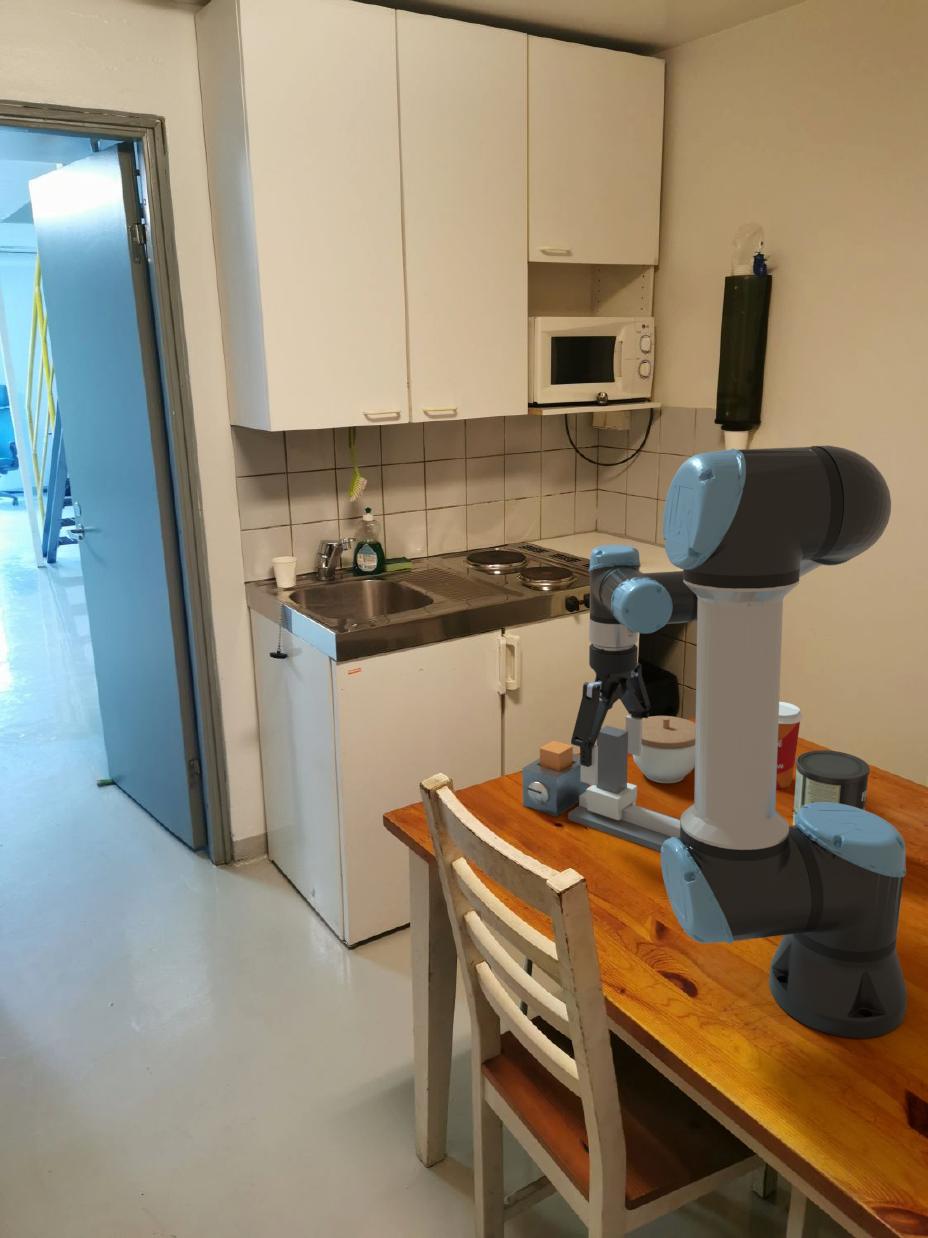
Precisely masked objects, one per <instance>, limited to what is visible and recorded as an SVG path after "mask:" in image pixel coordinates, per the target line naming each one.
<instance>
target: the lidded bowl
mask: <svg viewBox="0 0 928 1238" xmlns="http://www.w3.org/2000/svg"><path fill="white" fill-rule="evenodd" d="M695 733H696V722H694V721H692V720H689V719H686V718H682V717H677V716H673V715H671V716H670V715H655V716H654V715H653V716H648V718H643V717H642V750H641V756H636V755H632V757H633V761H634V763H635V765H636V767H637V768H638V769H639V771H641V772H642V774H644V776H645V778H647V779H648V780H650V781H652V782H656V783H657V784H675V783H678V782H681V781H682V780H683V781H684V779H685V777H686V776H688V775H689V774H690V773H691V772H692V771H693V770H694V769H695Z"/></svg>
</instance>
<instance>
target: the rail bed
mask: <svg viewBox="0 0 928 1238" xmlns="http://www.w3.org/2000/svg"><path fill="white" fill-rule="evenodd" d="M578 803H579V804H578V806H577V807H575V808H574V809H572V810H571V811H569V812H568V814H567V817H568V818H567V819H568V820H569V821H572V822H574V823H577V824H580V825H583V826H585V827H589V828H592V829H594V830H597V831H600V832H602V833H605V834H609V835H611V836H614V837H617V838H620V839H622V840H625V841H629V842H631V843H635V844H638V845H640V846H643V847H646V848H649V849H652V850H654V851H657V852H660V853H661V848H662V846H663V843H664V841H665V840H667V839H670V838H671V837H677V838H679V837H680V818H676V817H674V816H670V815H667V814H663V813H661V812H658V811H655V810H652V809H649V808H645V807H642V806H639V805H636V806H633V805H630V804H629V805H628V806H627V807H625V808H624V809H622V818H621V819H620V820H619V821H618V820H615V819H612V818H609V817H606V816H604V815H601V814H598V813H595V812H592V811H589V810H587V803H586V792H584V793H583V794H581V795H580V796H579V802H578Z"/></svg>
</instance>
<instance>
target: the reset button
mask: <svg viewBox="0 0 928 1238" xmlns="http://www.w3.org/2000/svg"><path fill="white" fill-rule="evenodd" d="M573 746H574V745H572V744H571V745H570V744H566V743H564V742H560V741H557V740H552V741H550V742H549V743H545V744H544V745H543V746H541V747H539V758H540V766H542V767H545V768H548V769H552V770H555V771H558V772H561V771H563V770H564V769H566V768H568V767H569V766H571V765H573V754H574V751H573V748H574V747H573Z"/></svg>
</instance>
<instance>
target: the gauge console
mask: <svg viewBox="0 0 928 1238" xmlns="http://www.w3.org/2000/svg"><path fill="white" fill-rule="evenodd" d="M589 787H590V784H588V783H585V782H581V764H580V754H577V753H576V754H575V753H573V765H571V766H569V767H568V768H566V769H564V770H563V771H561V772H558V771H555V770H552V769H548V768H545V767H542V766H540V757H539V758H537V759H536V760H534V761H532V762H530V763H529V764H526V766H525V765H524V766H523V767H522V806H524V807H527V808H530V809H532V810H534V811H535V810H536V811H537V812H538V811H539V812H541V813H544V814H546V815H550V816H552V817H555V818H557V817H559V816H561V815H562V814H564V813H565V812H567V811H568V810H569V809H571V808H572V807H574V806H576V805H577V804H578V803H579V796H580V795H581V794H583V793H584V792H586V789H587V788H589Z"/></svg>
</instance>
